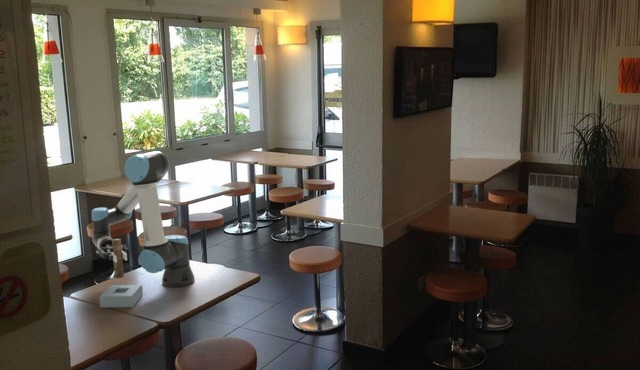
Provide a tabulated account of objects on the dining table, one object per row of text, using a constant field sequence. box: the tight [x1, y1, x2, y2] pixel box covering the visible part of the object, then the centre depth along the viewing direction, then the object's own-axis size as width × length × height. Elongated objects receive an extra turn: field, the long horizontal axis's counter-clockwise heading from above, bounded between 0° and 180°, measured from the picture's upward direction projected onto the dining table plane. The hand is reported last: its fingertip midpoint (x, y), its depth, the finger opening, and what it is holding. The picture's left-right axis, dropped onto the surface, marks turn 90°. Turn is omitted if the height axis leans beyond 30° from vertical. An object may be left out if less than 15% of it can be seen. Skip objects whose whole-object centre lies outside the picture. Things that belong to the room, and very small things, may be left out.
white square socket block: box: [98, 284, 144, 308], centre depth 255 cm, size 14×14×5 cm
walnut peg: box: [112, 238, 125, 279], centre depth 252 cm, size 4×4×17 cm
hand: (121, 258), depth 247 cm, fingers closed on walnut peg, 3 cm apart
